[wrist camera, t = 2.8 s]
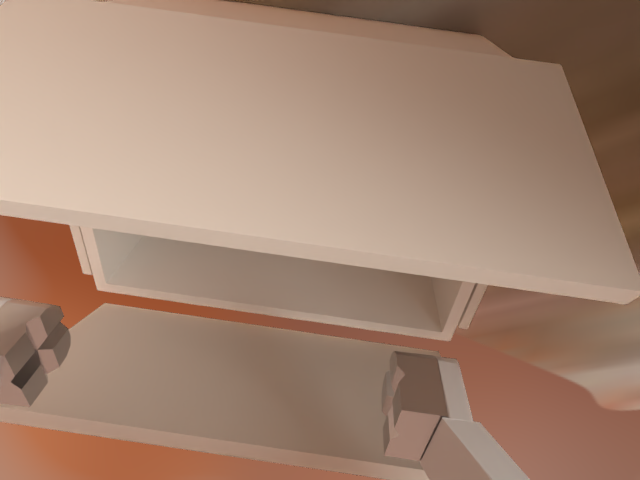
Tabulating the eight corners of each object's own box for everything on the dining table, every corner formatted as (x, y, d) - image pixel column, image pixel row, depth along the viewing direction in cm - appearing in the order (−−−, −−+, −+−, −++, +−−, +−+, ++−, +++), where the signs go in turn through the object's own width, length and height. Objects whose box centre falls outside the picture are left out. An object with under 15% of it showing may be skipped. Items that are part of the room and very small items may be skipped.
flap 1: (551, 80, 12) (561, 64, 11) (626, 305, 8) (646, 292, 7) (27, 8, 12) (18, -11, 11) (-169, 190, 8) (-194, 172, 7)
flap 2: (495, 481, 12) (491, 495, 12) (438, 351, 18) (436, 361, 18) (-32, 402, 12) (-30, 417, 12) (104, 302, 18) (104, 313, 19)
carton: (493, 36, 20) (579, 93, 12) (433, 223, 27) (463, 343, 18) (146, -11, 21) (0, 13, 12) (168, 186, 27) (81, 288, 19)
